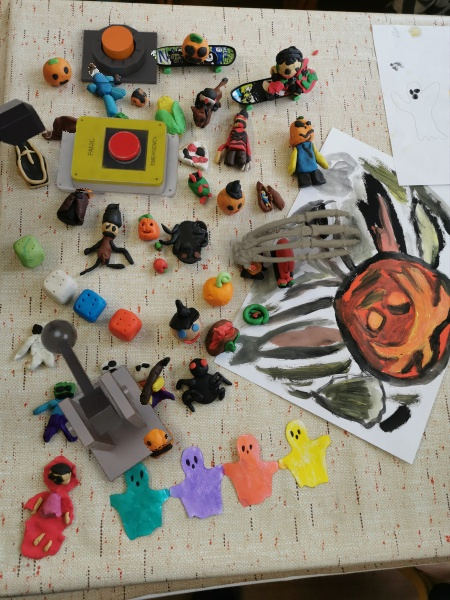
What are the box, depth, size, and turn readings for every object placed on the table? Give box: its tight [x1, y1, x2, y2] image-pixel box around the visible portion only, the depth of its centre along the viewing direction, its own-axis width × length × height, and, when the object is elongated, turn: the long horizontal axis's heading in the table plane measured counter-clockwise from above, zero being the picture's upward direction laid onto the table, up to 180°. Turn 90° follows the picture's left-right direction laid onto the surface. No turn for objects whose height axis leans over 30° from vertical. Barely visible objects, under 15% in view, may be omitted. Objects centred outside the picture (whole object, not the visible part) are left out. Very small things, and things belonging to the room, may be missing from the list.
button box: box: [80, 23, 158, 85], centre depth 75 cm, size 10×8×2 cm
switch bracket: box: [57, 364, 173, 483], centre depth 55 cm, size 10×8×17 cm
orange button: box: [102, 26, 134, 60], centre depth 74 cm, size 4×4×2 cm
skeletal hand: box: [232, 208, 362, 272], centre depth 68 cm, size 6×17×6 cm, turn 103°
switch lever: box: [40, 318, 122, 435], centre depth 53 cm, size 15×4×4 cm
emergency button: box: [55, 115, 180, 198], centre depth 70 cm, size 9×4×15 cm
